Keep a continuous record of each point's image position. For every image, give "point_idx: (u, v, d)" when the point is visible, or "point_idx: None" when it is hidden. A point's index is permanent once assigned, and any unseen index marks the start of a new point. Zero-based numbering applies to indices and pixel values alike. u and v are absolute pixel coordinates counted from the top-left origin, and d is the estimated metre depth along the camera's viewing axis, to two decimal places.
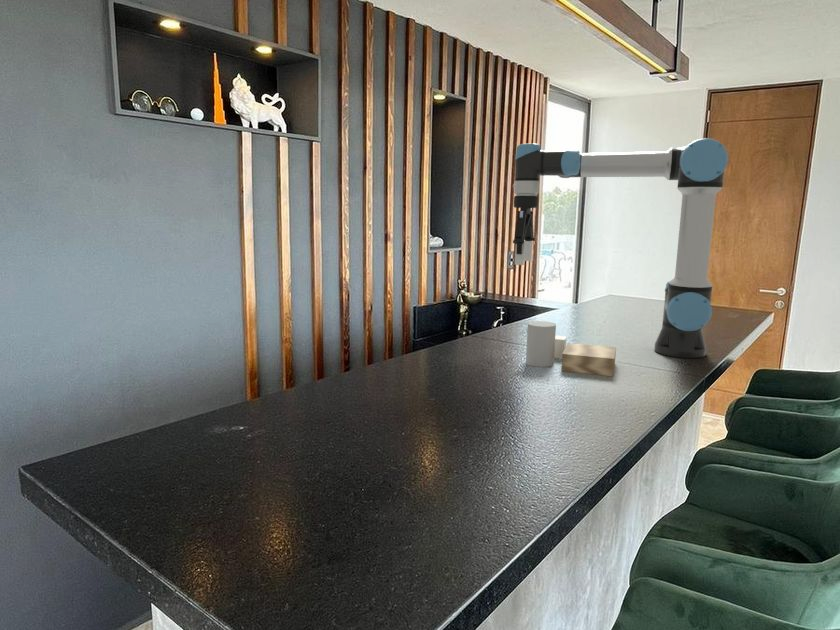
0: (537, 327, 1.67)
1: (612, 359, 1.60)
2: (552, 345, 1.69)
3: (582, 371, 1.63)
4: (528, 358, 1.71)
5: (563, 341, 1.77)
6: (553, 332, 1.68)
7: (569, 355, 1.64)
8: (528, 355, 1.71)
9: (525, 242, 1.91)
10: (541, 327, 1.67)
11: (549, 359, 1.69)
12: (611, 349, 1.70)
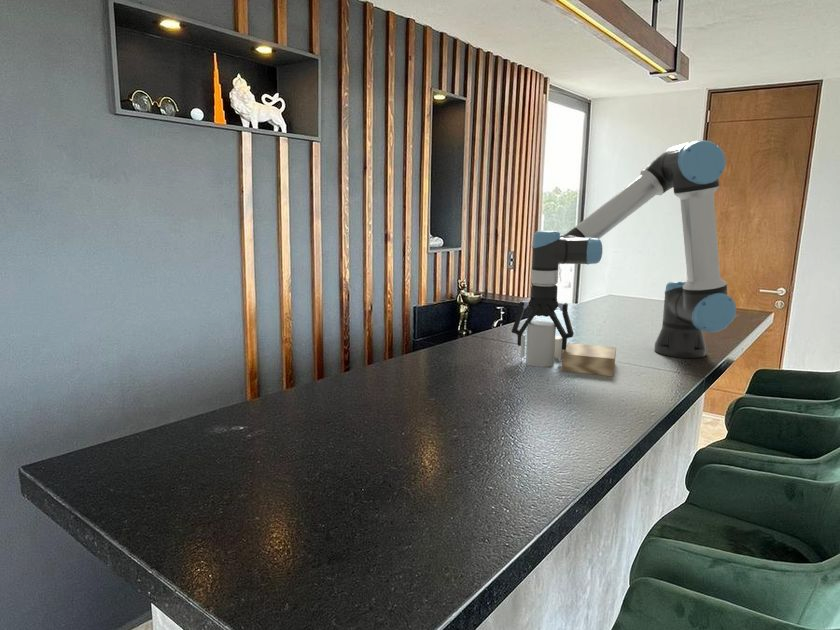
0: (537, 327, 1.67)
1: (612, 359, 1.60)
2: (552, 345, 1.69)
3: (582, 371, 1.63)
4: (528, 358, 1.71)
5: None
6: (553, 332, 1.68)
7: (569, 355, 1.64)
8: (528, 355, 1.71)
9: (560, 339, 1.70)
10: (541, 327, 1.67)
11: (549, 359, 1.69)
12: (611, 349, 1.70)
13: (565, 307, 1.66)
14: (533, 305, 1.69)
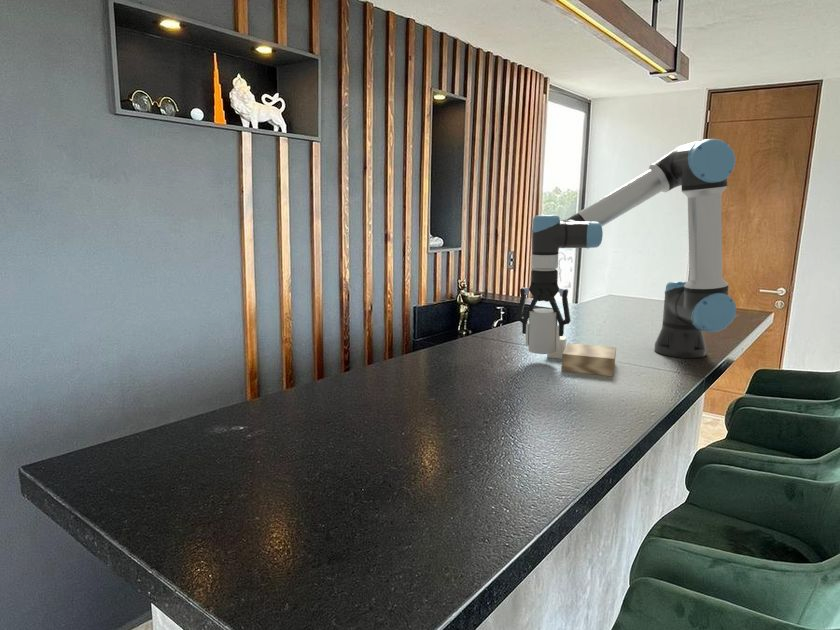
0: (539, 314, 1.67)
1: (612, 359, 1.60)
2: (554, 332, 1.68)
3: (582, 371, 1.63)
4: (530, 346, 1.70)
5: (563, 341, 1.77)
6: (555, 319, 1.68)
7: (569, 355, 1.64)
8: (530, 343, 1.70)
9: (557, 325, 1.70)
10: (543, 314, 1.66)
11: (552, 346, 1.69)
12: (611, 349, 1.70)
13: (565, 293, 1.66)
14: (534, 290, 1.69)
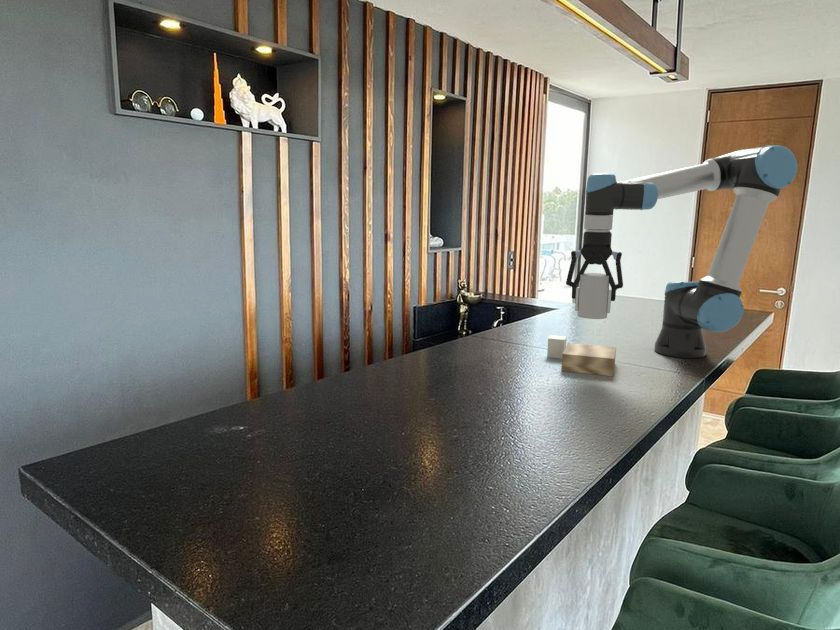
0: (591, 277, 1.61)
1: (612, 359, 1.60)
2: (606, 296, 1.62)
3: (582, 371, 1.63)
4: (580, 311, 1.64)
5: (563, 341, 1.77)
6: (607, 283, 1.62)
7: (569, 355, 1.64)
8: (581, 307, 1.64)
9: None
10: (596, 277, 1.60)
11: (603, 310, 1.63)
12: (611, 349, 1.70)
13: (619, 256, 1.60)
14: (586, 253, 1.63)
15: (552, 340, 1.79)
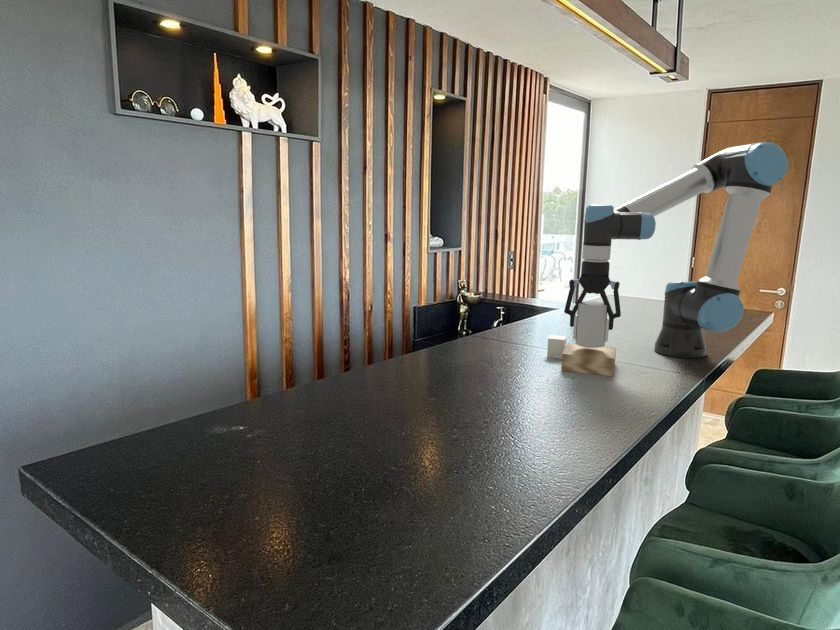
0: (589, 306, 1.62)
1: (612, 359, 1.60)
2: (604, 325, 1.64)
3: (582, 371, 1.63)
4: (578, 339, 1.66)
5: (563, 341, 1.77)
6: (605, 312, 1.63)
7: (569, 355, 1.64)
8: (579, 336, 1.66)
9: (606, 319, 1.66)
10: (593, 306, 1.62)
11: (601, 339, 1.64)
12: (611, 349, 1.70)
13: (617, 285, 1.61)
14: (584, 282, 1.64)
15: (552, 340, 1.79)
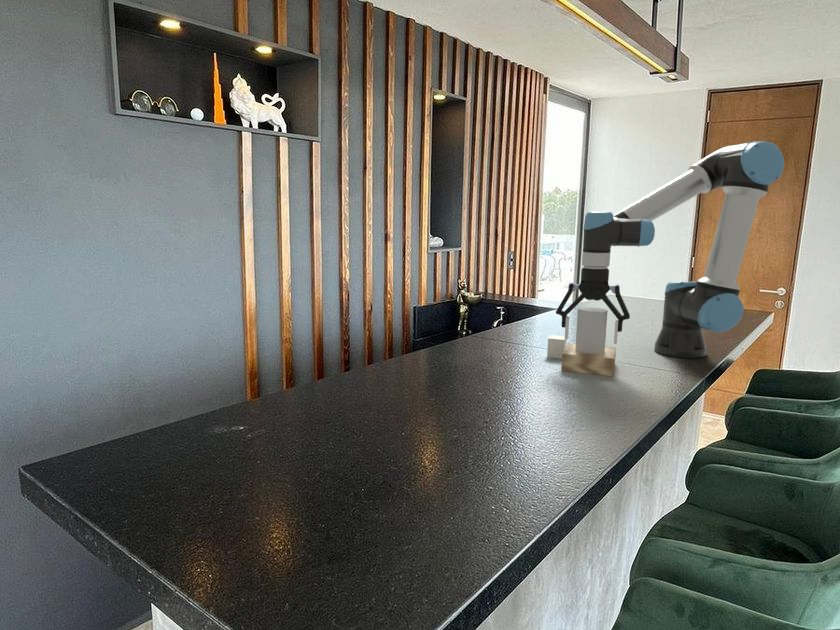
0: (589, 313, 1.63)
1: (612, 359, 1.60)
2: (604, 331, 1.64)
3: (582, 371, 1.63)
4: (578, 345, 1.66)
5: (563, 341, 1.77)
6: (605, 318, 1.64)
7: (569, 355, 1.64)
8: (578, 342, 1.66)
9: None
10: (593, 313, 1.62)
11: (601, 345, 1.64)
12: (611, 349, 1.70)
13: (617, 289, 1.61)
14: (583, 289, 1.65)
15: (552, 340, 1.79)
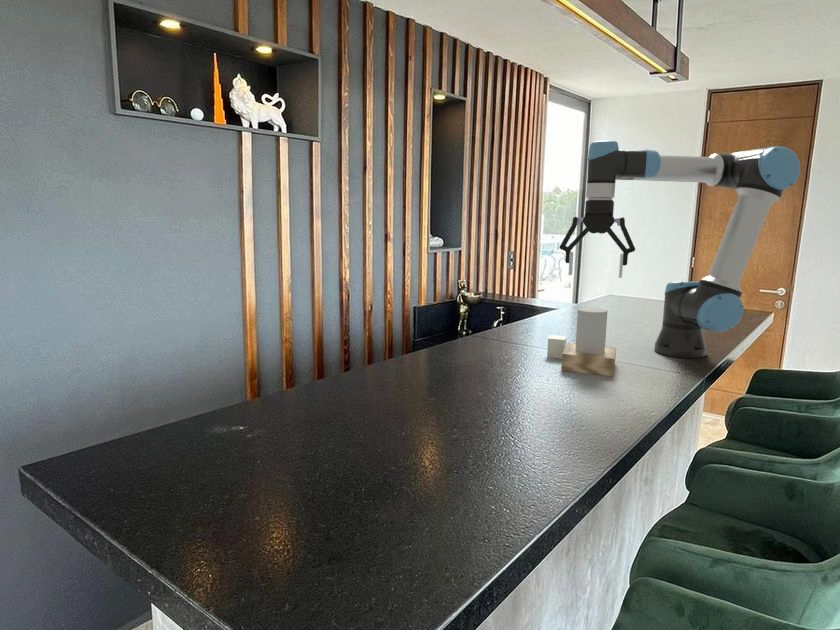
0: (589, 313, 1.63)
1: (612, 359, 1.60)
2: (604, 331, 1.64)
3: (582, 371, 1.63)
4: (578, 345, 1.66)
5: (563, 341, 1.77)
6: (605, 318, 1.64)
7: (569, 355, 1.64)
8: (578, 342, 1.66)
9: None
10: (593, 313, 1.62)
11: (601, 345, 1.64)
12: (611, 349, 1.70)
13: (623, 220, 1.58)
14: (587, 222, 1.61)
15: (552, 340, 1.79)
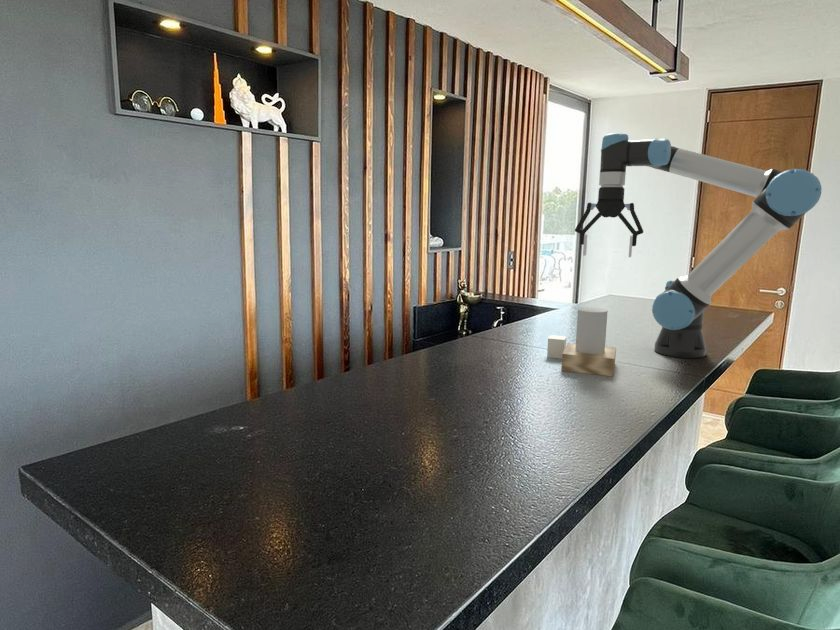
0: (589, 313, 1.63)
1: (612, 359, 1.60)
2: (604, 331, 1.64)
3: (582, 371, 1.63)
4: (578, 345, 1.66)
5: (563, 341, 1.77)
6: (605, 318, 1.64)
7: (569, 355, 1.64)
8: (578, 342, 1.66)
9: (630, 236, 1.79)
10: (593, 313, 1.62)
11: (601, 345, 1.64)
12: (611, 349, 1.70)
13: (632, 205, 1.76)
14: (600, 207, 1.79)
15: (552, 340, 1.79)
